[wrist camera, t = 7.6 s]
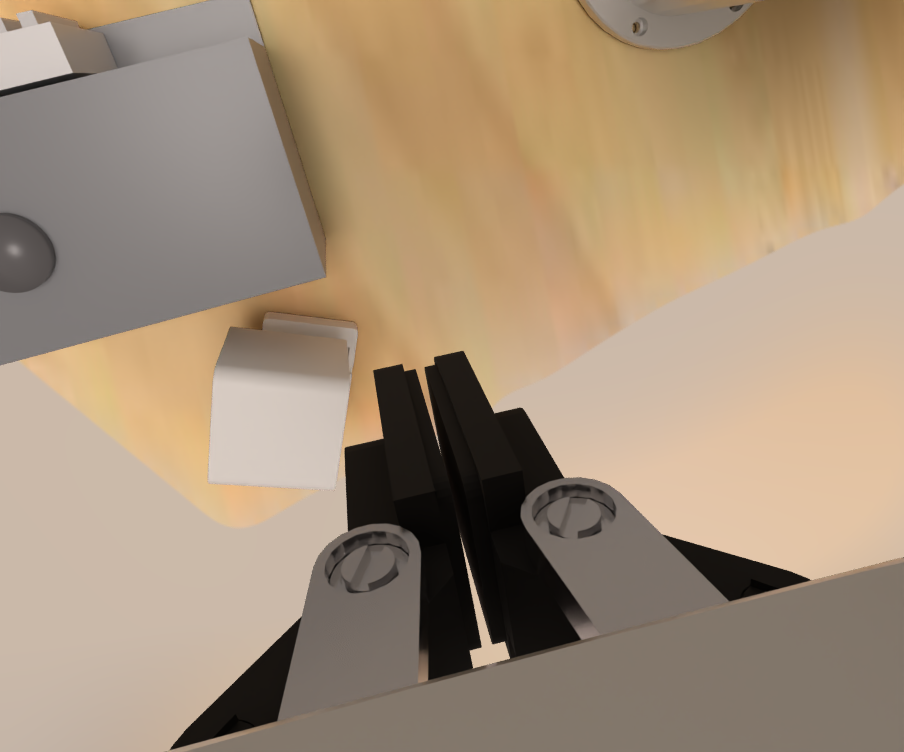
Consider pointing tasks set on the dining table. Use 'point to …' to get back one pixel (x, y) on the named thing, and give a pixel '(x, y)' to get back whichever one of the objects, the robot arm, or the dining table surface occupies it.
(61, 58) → the door
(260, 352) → the white rounded housing
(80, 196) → the camera case
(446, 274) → the dining table surface
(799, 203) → the dining table surface
